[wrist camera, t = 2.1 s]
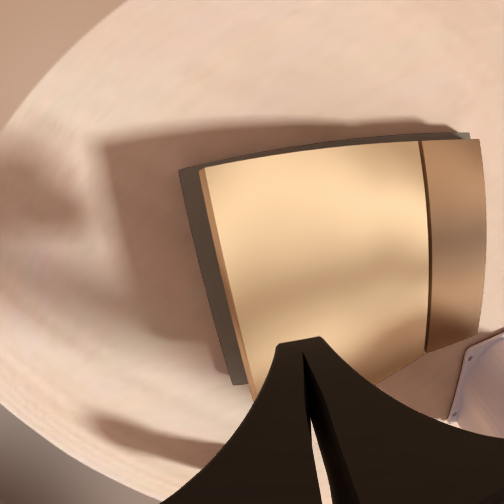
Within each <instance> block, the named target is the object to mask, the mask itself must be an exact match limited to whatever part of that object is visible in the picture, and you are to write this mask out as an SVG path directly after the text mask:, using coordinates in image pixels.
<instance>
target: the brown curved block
mask: <svg viewBox="0 0 504 504" xmlns="http://www.w3.org/2000/svg"><path fill="white" fill-rule="evenodd" d="M418 145H419V152H420V158H421V165H422V172H423V180H424V189H425V199H426V211H427V227H428V254H429V281H428V308H427V323H426V335H425V345H424V350H425V351H426V352H427V353H428V352H431V351H434V350H437V349H440V348H443V347H445V346H448V345H451V344H454V343H456V342H459V341H461V340H464V339H467V338H469V337H472V336H474V335H476V334H477V333H478V327H479V321H480V314H481V307H482V299H483V289H484V279H485V264H486V197H485V183H484V172H483V163H482V155H481V147H480V141H479V139H457V140H430V141H418Z"/></svg>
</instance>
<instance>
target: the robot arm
mask: <svg viewBox="0 0 504 504" xmlns="http://www.w3.org/2000/svg"><path fill="white" fill-rule="evenodd" d="M310 417H311V418H310ZM311 421H312V424H313V428H314V431H315V434H316V438H317V441H318V445H319V448H320V451H321V455H322V458H323V462H324V465H325V469H326V472H327V476H328V480H329V485H330V491H331V497H332V503H333V504H504V332H503V333H500V334H498V335H496V336H494V337H492V338H490V339H487V340H485V341H483V342H481V343H478V344H476V345H474V346H471V347H469V348H468V349H467V350H466V352H465V356H464V361H463V365H462V370H461V374H460V378H459V382H458V386H457V390H456V394H455V397H454V401H453V404H452V407H451V411H450V414H449V417H448V423H449V424H451V423H454V422H456V421H457V423H458V424H459V426H460V427H461V429H460V428H457V427H454V426H451V425H448V424H445V423H443V422H440V421H438V420H436V419H433V418H431V417H428V416H426V415H424V414H421V413H419V412H417V411H415V410H413V409H411V408H409V407H407V406H406V405H404V404H402V403H400V402H399V401H397V400H395V399H394V398H392V397H390V396H389V395H387V394H386V393H384V392H383V391H381V390H380V389H379V388H377V387H376V386H374V385H373V384H372V383H370V382H369V381H368V380H366V379H365V378H364V377H363V376H362V375H360V374H359V373H358V372H357V371H356V370H354V369H353V368H352V367H351V366H350V365H349V364H348V363H346V362H345V361H344V360H343V359H342V358H341V357H340V356H339V355H338V354H337V353H336V352H335V351H334V350H333V349H332V348H331V347H330V345H329V344H328V343H327V342H326V341H325V340H324V339H323V338H322V337H320V336H317V337H312V338H307V339H301V340H296V341H290V342H284V343H279V344H278V345H277V346H276V349H275V354H274V358H273V361H272V364H271V367H270V370H269V372H268V374H267V377H266V379H265V381H264V384H263V386H262V388H261V390H260V392H259V394H258V396H257V398H256V399H255V401H254V403H253V405H252V407H251V409H250V410H249V412H248V414H247V415H246V417H245V418H244V420H243V421H242V423H241V424H240V426H239V427H238V428H237V430H236V431H235V433H234V434H233V435H232V437H231V438H230V439H229V440H228V442H227V443H226V444H225V445H224V446H223V448H222V449H221V450H220V451H219V452H218V453H217V454H216V456H215V457H214V458H213V459H212V460H211V461H210V462H209V463H208V464H207V465H206V466H205V467H204V468H203V469H202V470H201V471H200V472H199V473H197V474H196V475H195V476H194V477H193V478H192V479H191V480H190V481H188V482H187V483H186V484H185V485H184V486H183V487H181V488H180V489H179V490H178V491H177V492H175V493H174V494H173V495H171V496H170V497H169V498H167V499H166V500H164V501H163V502H161V503H160V504H322V500H321V494H320V489H319V483H318V477H317V472H316V466H315V461H314V455H313V449H312V436H311Z"/></svg>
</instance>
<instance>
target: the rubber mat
mask: <svg viewBox="0 0 504 504" xmlns="http://www.w3.org/2000/svg"><path fill="white" fill-rule="evenodd" d="M457 139H470V134H469V133H423V134H405V135H390V136H378V137H367V138H357V139H347V140H339V141H330V142H323V143H315V144H308V145H302V146H295V147H289V148H282V149H277V150H271V151H265V152H260V153H254V154H249V155H244V156H239V157H234V158H229V159H224V160H220V161H215V162H210V163H206V164H202V165H197V166H193V167H189V168H185V169H181V170H178V172H179V177H180V182H181V186H182V191H183V196H184V200H185V205H186V209H187V214H188V218H189V223H190V227H191V232H192V236H193V240H194V244H195V248H196V253H197V257H198V261H199V265H200V269H201V273H202V277H203V281H204V285H205V289H206V292H207V296H208V300H209V304H210V307H211V311H212V315H213V319H214V322H215V326H216V329H217V333H218V337H219V340H220V344H221V347H222V351H223V354H224V357H225V361H226V364H227V367H228V371H229V374H230V377H231V381H232V384H233V385H242V384H249V383H248V379H247V375H246V372H245V368H244V364H243V360H242V357H241V353H240V349H239V345H238V341H237V337H236V333H235V329H234V325H233V321H232V317H231V313H230V309H229V305H228V301H227V297H226V293H225V289H224V284H223V280H222V276H221V272H220V267H219V263H218V259H217V255H216V250H215V246H214V241H213V237H212V232H211V228H210V223H209V219H208V214H207V210H206V205H205V200H204V195H203V191H202V186H201V181H200V176H199V171H200V170H201V169H203V168H206V167H211V166H216V165H221V164H226V163H231V162H237V161H242V160H248V159H254V158H260V157H266V156H272V155H279V154H286V153H293V152H300V151H307V150H315V149H324V148H333V147H342V146H352V145H364V144H376V143H391V142H410V141H430V140H457Z"/></svg>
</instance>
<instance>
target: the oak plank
mask: <svg viewBox="0 0 504 504" xmlns="http://www.w3.org/2000/svg"><path fill="white" fill-rule="evenodd" d="M199 176H200V181H201V186H202V191H203V195H204V200H205V205H206V210H207V214H208V219H209V223H210V228H211V232H212V237H213V241H214V246H215V250H216V255H217V259H218V263H219V267H220V272H221V276H222V280H223V284H224V289H225V293H226V297H227V301H228V305H229V309H230V313H231V317H232V321H233V325H234V329H235V333H236V337H237V341H238V345H239V349H240V353H241V357H242V360H243V364H244V368H245V372H246V375H247V379H248V383H249V387H250V390H251V394H252V398H253V401H255V399H256V398H257V396H258V394H259V392H260V390H261V388H262V386H263V384H264V381H265V379H266V377H267V374H268V372H269V370H270V367H271V364H272V361H273V358H274V354H275V349H276V346H277V345H278V344H279V343H284V342H290V341H296V340H301V339H307V338H312V337H317V336H320V337H322V338H323V339H324V340H325V341H326V342H327V343H328V344H329V345H330V347H331V348H332V349H333V350H334V351H335V352H336V353H337V354H338V355H339V356H340V357H341V358H342V359H343V360H344V361H345V362H346V363H348V364H349V365H350V366H351V367H352V368H353V369H354V370H356V371H357V372H358V373H359V374H360V375H362V376H363V377H364V378H365V379H366V380H368V381H369V382H370V383H372V384H373V385H375V384H377V383H379V382H381V381H382V380H384V379H386V378H387V377H389V376H391V375H392V374H394V373H396V372H397V371H399V370H401V369H402V368H404V367H405V366H407V365H408V364H410V363H412V362H413V361H415V360H416V359H418V358H419V357H421V356H422V355H423V354H424V345H425V335H426V323H427V308H428V281H429V254H428V227H427V211H426V199H425V189H424V180H423V172H422V165H421V158H420V152H419V145H418V141H410V142H391V143H376V144H364V145H352V146H342V147H333V148H324V149H315V150H307V151H300V152H293V153H286V154H279V155H272V156H266V157H260V158H254V159H248V160H242V161H237V162H231V163H226V164H221V165H216V166H211V167H206V168H203V169H201V170H200V171H199Z"/></svg>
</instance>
